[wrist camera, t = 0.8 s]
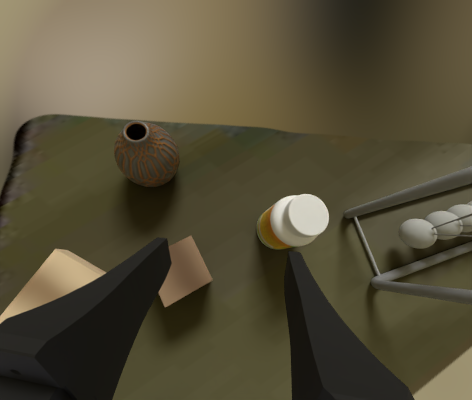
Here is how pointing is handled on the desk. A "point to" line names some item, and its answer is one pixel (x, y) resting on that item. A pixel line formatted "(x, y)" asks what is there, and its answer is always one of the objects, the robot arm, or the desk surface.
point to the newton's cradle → (424, 236)
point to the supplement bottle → (292, 222)
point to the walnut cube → (184, 272)
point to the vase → (146, 154)
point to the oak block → (53, 282)
